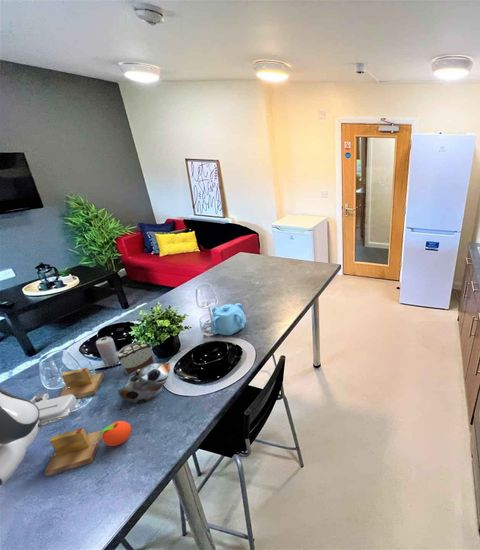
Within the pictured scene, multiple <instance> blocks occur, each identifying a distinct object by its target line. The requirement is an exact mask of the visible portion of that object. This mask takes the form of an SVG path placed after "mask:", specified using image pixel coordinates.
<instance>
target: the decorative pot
mask: <svg viewBox="0 0 480 550" xmlns="http://www.w3.org/2000/svg"><path fill="white" fill-rule="evenodd" d="M243 307H244V306H243V304H242V303H240V302H237V303H234V304H232V303H231V304H230V303H227V304H223V305H222V306H214V307H213V308H212V310H211V312H212V316H211V320H210V329H211V333H212V334H213V335H217V334H219V335H222V336H233V335H234V334H236V333H237V332H239V331H240V330H243V329H245V325H246V323H247V317H246V314H245V313H244V311H243Z"/></svg>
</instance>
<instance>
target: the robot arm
mask: <svg viewBox="0 0 480 550" xmlns="http://www.w3.org/2000/svg"><path fill="white" fill-rule="evenodd" d="M77 405H78V399H76V397H75V396H74V395H72V394H70V395H66V396H62V397H59V396H58V397H53V398H50V395H49V393H48V392H47V393H42V394H37V395H34V396H33V398H32V399H30V400H28V399H26V398H24V397H20V396H18V395H14V394H12V393H10V392H9V391H8V392H7V391H6V390H4V389H3V388H1V387H0V487H1V486H2V485H3V484H5V482H7V481H8V479H10V478H11V476H12V475H13V474H14V473H15V472H16V470H17V469H18V467H19V465H20V464H21V463H22V461H23V459H24V458H25V456H26V453H27V450H28V449H29V448H30V447H32V445H33V444H34V442H35V440H36V438H37V437H38V435H39V433H40V432H41V430H42V429H43V426H44V427H45V426H48V425H51V424H55V423H59V422H61V421H63V420H65V419H66V418H68V417H69V416H70V415H71V413H72V412H73V411H74V409H75V408H76V406H77Z"/></svg>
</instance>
